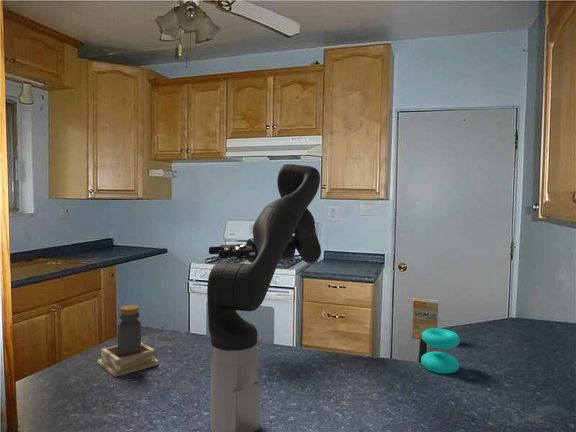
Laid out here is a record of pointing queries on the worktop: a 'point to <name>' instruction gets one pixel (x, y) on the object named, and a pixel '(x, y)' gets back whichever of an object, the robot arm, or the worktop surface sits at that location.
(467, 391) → the worktop surface
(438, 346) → the donuts
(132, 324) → the bottle
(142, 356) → the bottle holder
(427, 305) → the supplement box
